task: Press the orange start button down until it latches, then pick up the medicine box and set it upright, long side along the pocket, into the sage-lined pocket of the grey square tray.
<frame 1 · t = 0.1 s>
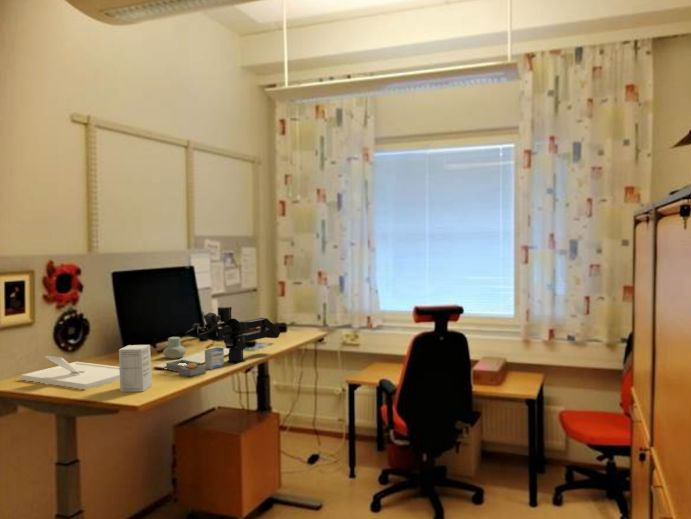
hand: (192, 334, 254), 17 cm above the table, tool horizontal, fingers open, 9 cm apart
start button: (192, 366, 250), point 3 cm above the table, slide at 0.0 cm
supplement box: (136, 389, 228), on the table
button housing: (192, 374, 250), on the table
medicine box: (214, 368, 263), on the table
air freshener: (174, 358, 286), on the table
grey square tray: (183, 368, 262), on the table
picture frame: (81, 379, 248), on the table
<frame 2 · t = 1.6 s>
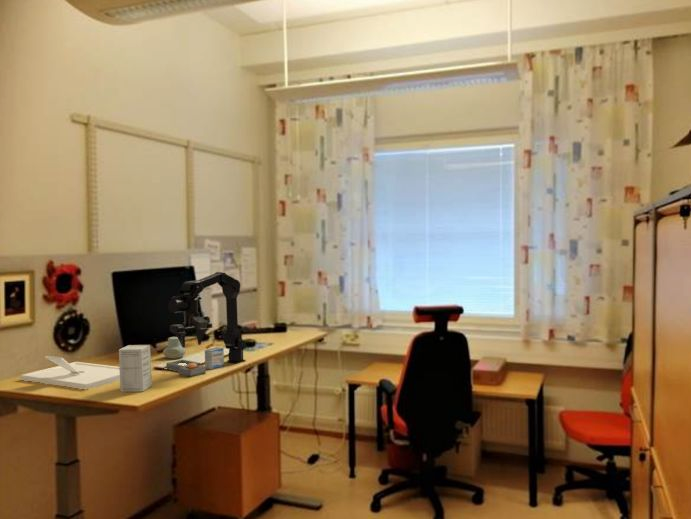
hand: (191, 346, 250), 12 cm above the table, tool pointing down, fingers open, 8 cm apart
nothing on the table moved.
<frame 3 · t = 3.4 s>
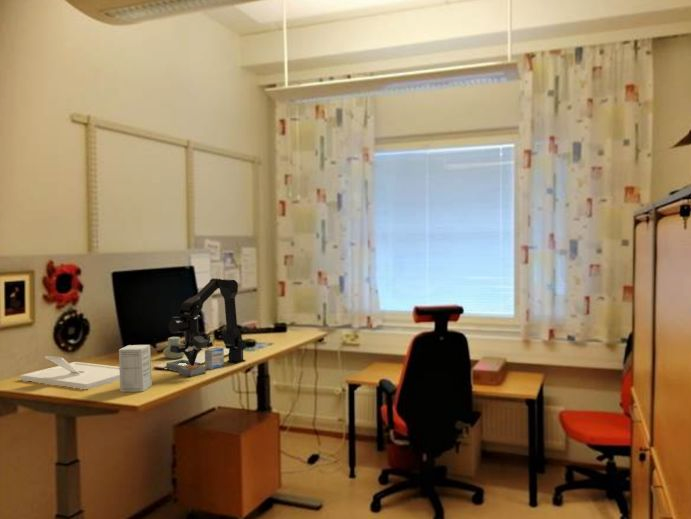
hand: (192, 365, 250), 4 cm above the table, tool pointing down, fingers closed, pressing on start button
start button: (192, 367, 250), point 3 cm above the table, slide at 0.7 cm, touching gripper
everything else where it was.
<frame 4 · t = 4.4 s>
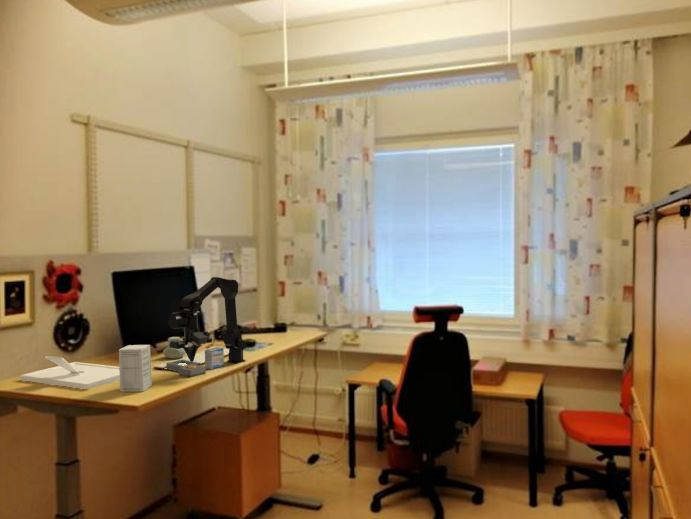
hand: (191, 361, 250), 6 cm above the table, tool pointing down, fingers closed
start button: (192, 368, 250), point 2 cm above the table, slide at 1.2 cm
everything else where it was.
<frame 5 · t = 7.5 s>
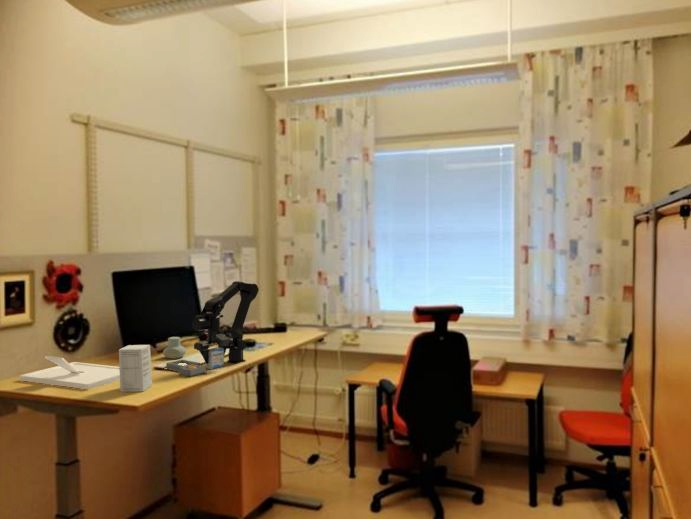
hand: (214, 361, 263), 3 cm above the table, tool pointing down, fingers closed on medicine box, 8 cm apart
medicine box: (214, 367, 263), on the table, touching gripper
everything else where it was.
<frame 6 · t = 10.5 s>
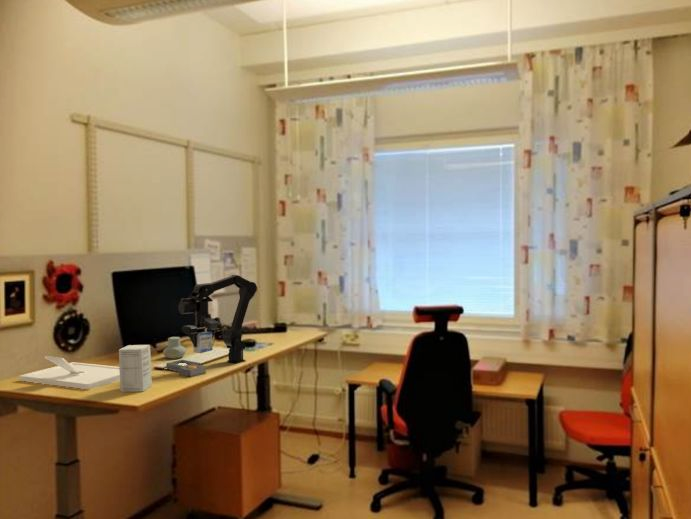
hand: (202, 345, 262), 10 cm above the table, tool pointing down, fingers closed on medicine box, 8 cm apart
medicine box: (203, 351, 262), point 7 cm above the table, touching gripper
everything else where it was.
when the fingers open (5 cm above the table, at t = 13.6 s): medicine box stays where it is, resting on grey square tray.
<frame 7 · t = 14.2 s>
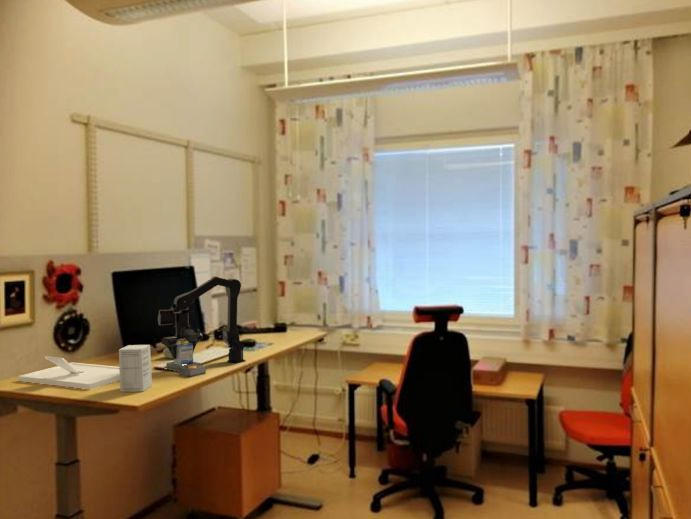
hand: (183, 357, 262), 5 cm above the table, tool pointing down, fingers open, 9 cm apart
medicine box: (183, 363, 262), point 2 cm above the table, touching grey square tray
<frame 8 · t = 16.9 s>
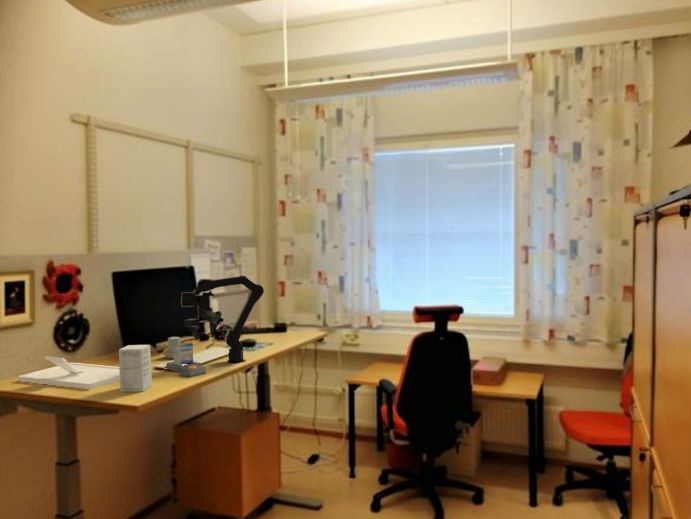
hand: (204, 338, 269), 12 cm above the table, tool pointing down, fingers open, 9 cm apart
at the end: start button slide at 1.2 cm; medicine box 0.1 cm off-centre on the grey square tray, point 2.2 cm above the grey square tray's base; medicine box tilted 0° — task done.
